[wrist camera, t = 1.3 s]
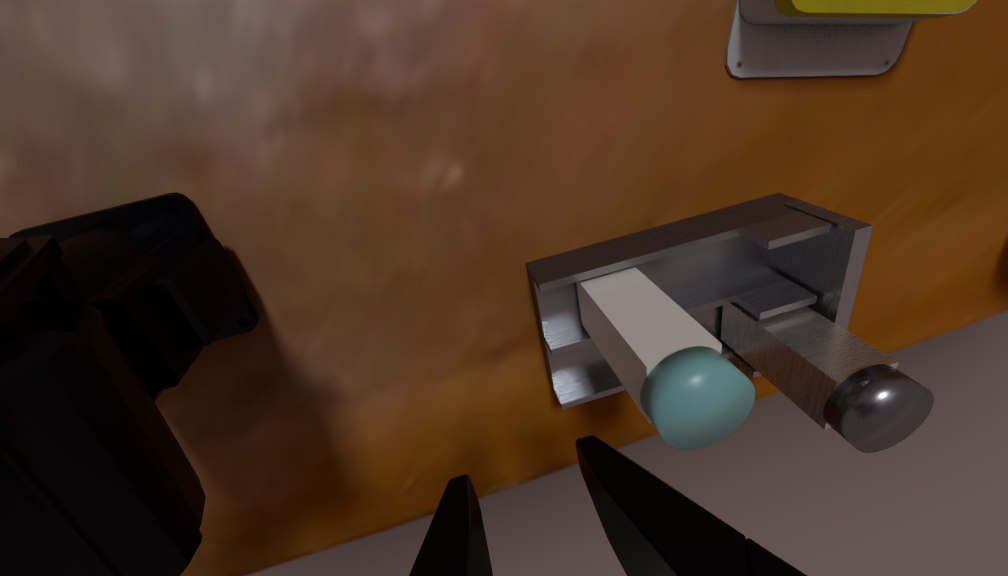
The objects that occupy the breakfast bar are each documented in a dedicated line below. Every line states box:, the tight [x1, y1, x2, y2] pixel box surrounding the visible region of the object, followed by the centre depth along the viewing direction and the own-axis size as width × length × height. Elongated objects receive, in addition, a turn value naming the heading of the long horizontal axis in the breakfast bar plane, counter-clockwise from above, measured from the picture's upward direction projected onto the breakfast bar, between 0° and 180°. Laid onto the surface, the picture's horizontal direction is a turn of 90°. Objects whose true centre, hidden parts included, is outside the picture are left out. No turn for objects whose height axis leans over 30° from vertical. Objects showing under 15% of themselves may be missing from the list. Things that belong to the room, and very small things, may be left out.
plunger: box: [576, 266, 755, 450], centre depth 18 cm, size 3×3×8 cm
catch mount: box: [526, 193, 934, 453], centre depth 20 cm, size 14×8×10 cm, turn 101°
